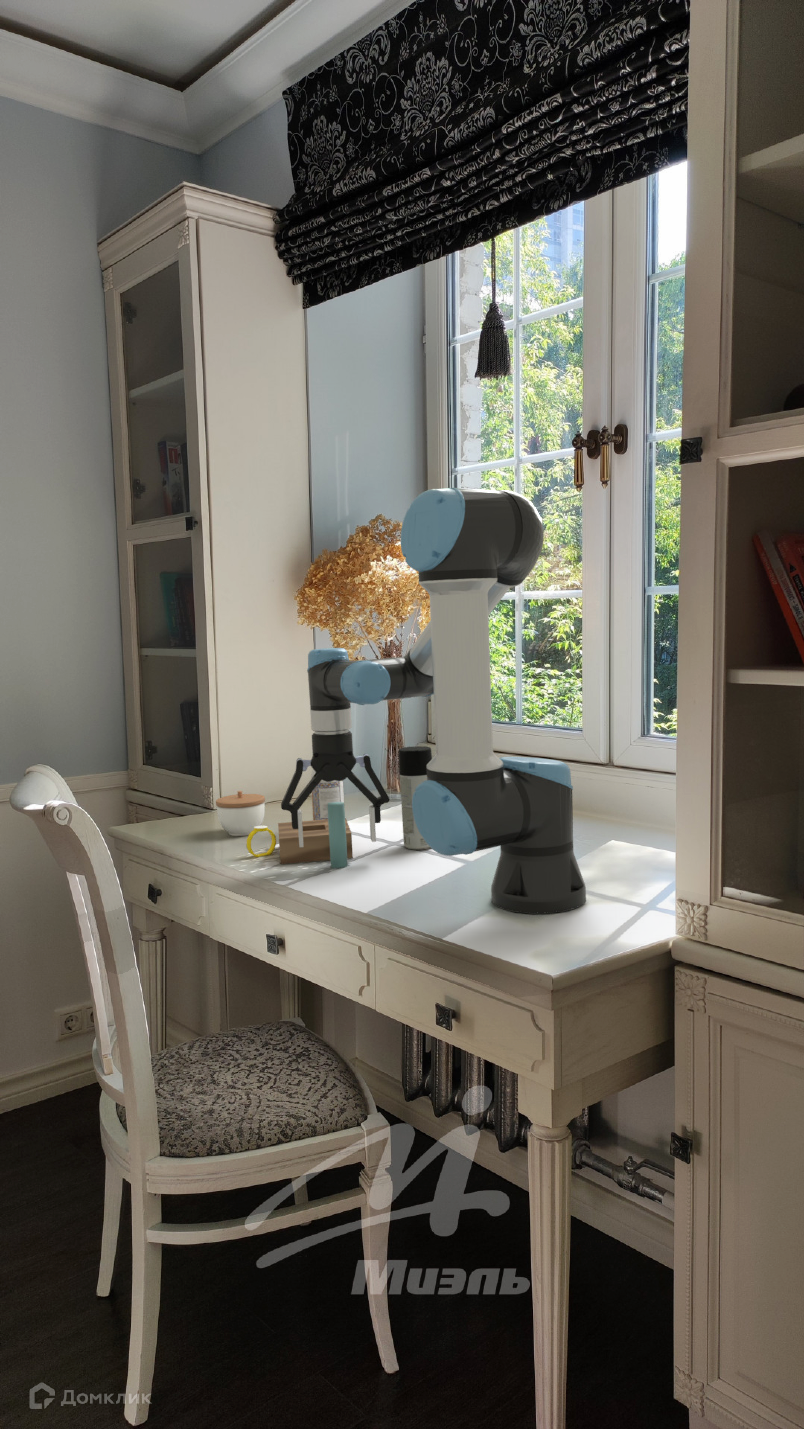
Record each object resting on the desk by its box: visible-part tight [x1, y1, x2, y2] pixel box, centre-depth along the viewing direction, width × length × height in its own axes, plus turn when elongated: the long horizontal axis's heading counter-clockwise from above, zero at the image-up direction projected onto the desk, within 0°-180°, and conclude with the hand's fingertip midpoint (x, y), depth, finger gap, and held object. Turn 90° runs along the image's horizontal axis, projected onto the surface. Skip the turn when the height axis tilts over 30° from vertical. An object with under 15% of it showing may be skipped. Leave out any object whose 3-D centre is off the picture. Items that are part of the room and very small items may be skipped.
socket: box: [277, 817, 354, 865], centre depth 194 cm, size 14×14×5 cm
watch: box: [246, 825, 277, 858], centre depth 194 cm, size 6×3×6 cm, turn 125°
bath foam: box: [310, 768, 345, 820], centre depth 210 cm, size 7×7×20 cm
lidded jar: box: [215, 790, 266, 837], centre depth 214 cm, size 11×11×9 cm
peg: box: [327, 802, 349, 869], centre depth 182 cm, size 3×3×12 cm
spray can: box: [398, 745, 433, 851], centre depth 194 cm, size 7×7×20 cm
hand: (337, 842), depth 183 cm, fingers open, 13 cm apart
